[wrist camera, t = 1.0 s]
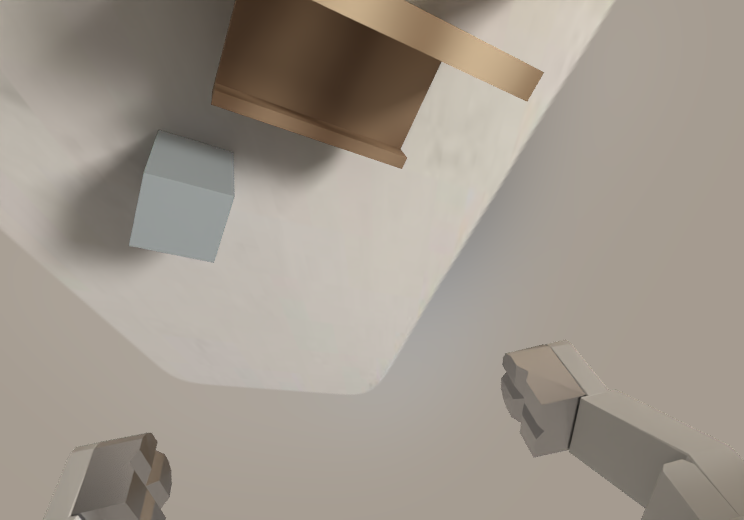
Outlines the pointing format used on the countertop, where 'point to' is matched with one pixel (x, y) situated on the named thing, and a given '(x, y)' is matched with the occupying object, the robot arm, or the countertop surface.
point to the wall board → (349, 69)
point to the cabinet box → (184, 198)
